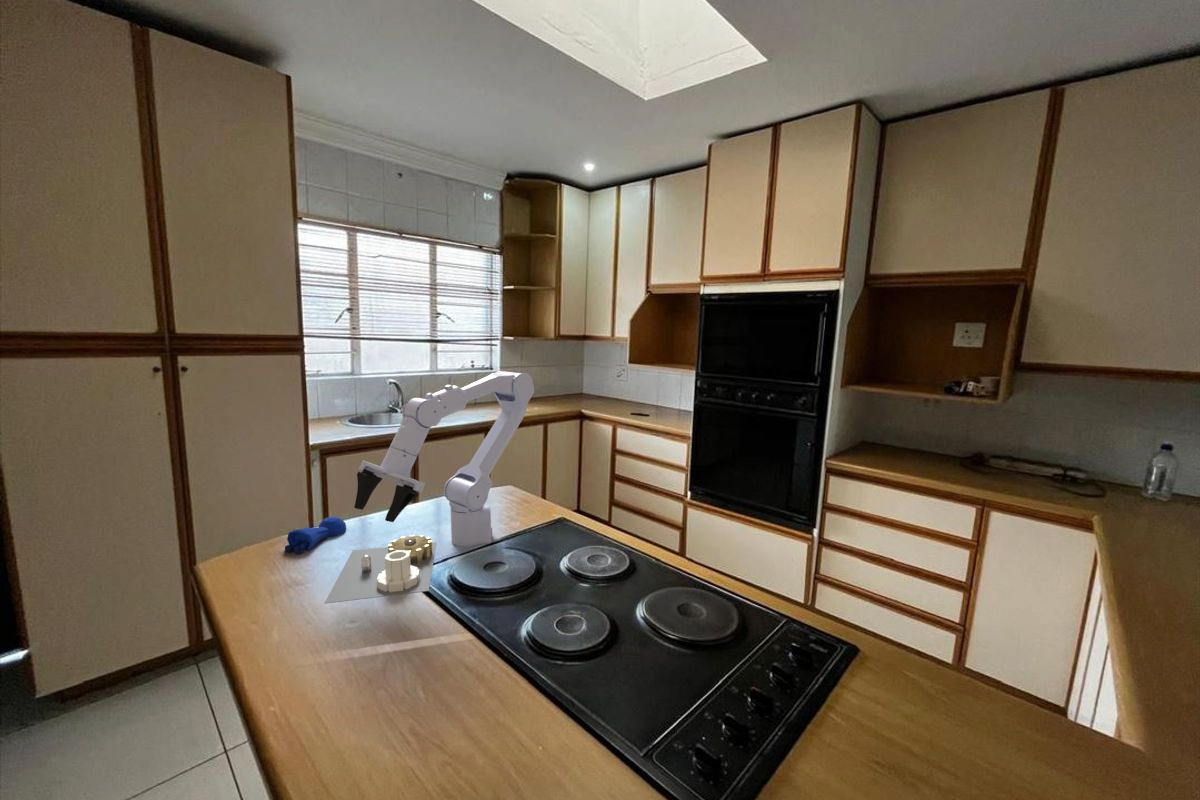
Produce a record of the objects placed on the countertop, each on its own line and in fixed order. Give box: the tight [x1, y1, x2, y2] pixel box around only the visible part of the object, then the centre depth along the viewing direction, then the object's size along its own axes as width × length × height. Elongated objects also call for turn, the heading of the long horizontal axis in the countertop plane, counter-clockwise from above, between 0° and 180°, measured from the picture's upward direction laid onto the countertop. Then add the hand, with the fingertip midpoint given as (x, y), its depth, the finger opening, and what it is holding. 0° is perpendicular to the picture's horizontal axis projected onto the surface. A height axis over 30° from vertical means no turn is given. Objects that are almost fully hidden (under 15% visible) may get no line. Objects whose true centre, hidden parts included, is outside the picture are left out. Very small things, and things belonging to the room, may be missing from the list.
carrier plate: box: [324, 542, 437, 604], centre depth 101 cm, size 18×22×1 cm
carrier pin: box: [361, 555, 372, 573], centre depth 100 cm, size 2×2×3 cm
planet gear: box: [377, 550, 420, 592], centre depth 95 cm, size 8×8×6 cm
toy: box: [284, 516, 347, 556], centre depth 114 cm, size 7×6×15 cm
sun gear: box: [387, 534, 433, 564], centre depth 106 cm, size 9×9×4 cm
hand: (373, 515), depth 97 cm, fingers open, 7 cm apart
